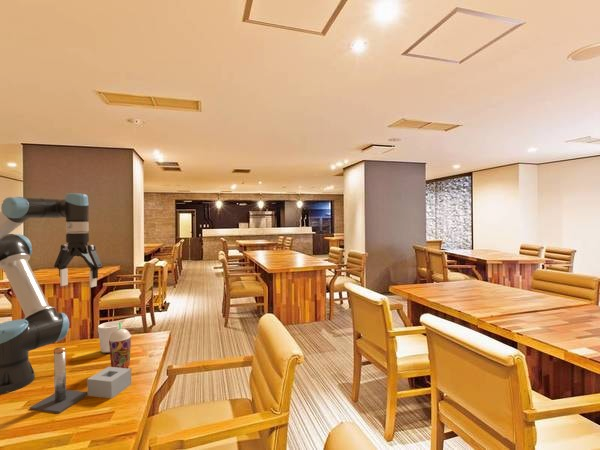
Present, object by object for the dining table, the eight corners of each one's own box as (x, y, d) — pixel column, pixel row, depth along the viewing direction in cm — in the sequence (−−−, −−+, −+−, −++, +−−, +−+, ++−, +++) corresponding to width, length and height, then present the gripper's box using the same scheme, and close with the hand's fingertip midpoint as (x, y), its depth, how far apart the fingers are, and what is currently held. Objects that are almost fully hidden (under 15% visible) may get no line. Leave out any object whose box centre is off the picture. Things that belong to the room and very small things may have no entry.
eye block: (87, 395, 119) (87, 379, 119) (108, 381, 129) (108, 366, 128) (111, 398, 117) (111, 381, 117) (131, 384, 127) (131, 368, 126)
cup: (104, 347, 163) (104, 321, 162) (125, 346, 164) (125, 320, 164) (94, 355, 153) (93, 328, 153) (116, 354, 154) (116, 327, 154)
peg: (59, 397, 117) (59, 346, 116) (68, 397, 116) (67, 346, 116) (52, 402, 113) (51, 350, 113) (61, 402, 113) (60, 350, 113)
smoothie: (122, 375, 134) (121, 326, 134) (104, 373, 136) (103, 324, 135) (136, 366, 142) (135, 319, 142) (119, 364, 144) (118, 318, 143)
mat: (29, 409, 110) (29, 407, 110) (61, 390, 122) (61, 389, 122) (59, 413, 108) (59, 411, 108) (89, 394, 120) (89, 392, 120)
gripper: (42, 232, 130) (43, 286, 130) (97, 233, 125) (98, 289, 125) (59, 232, 137) (60, 282, 137) (112, 232, 132) (112, 285, 133)
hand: (78, 286), depth 131 cm, fingers open, 13 cm apart
